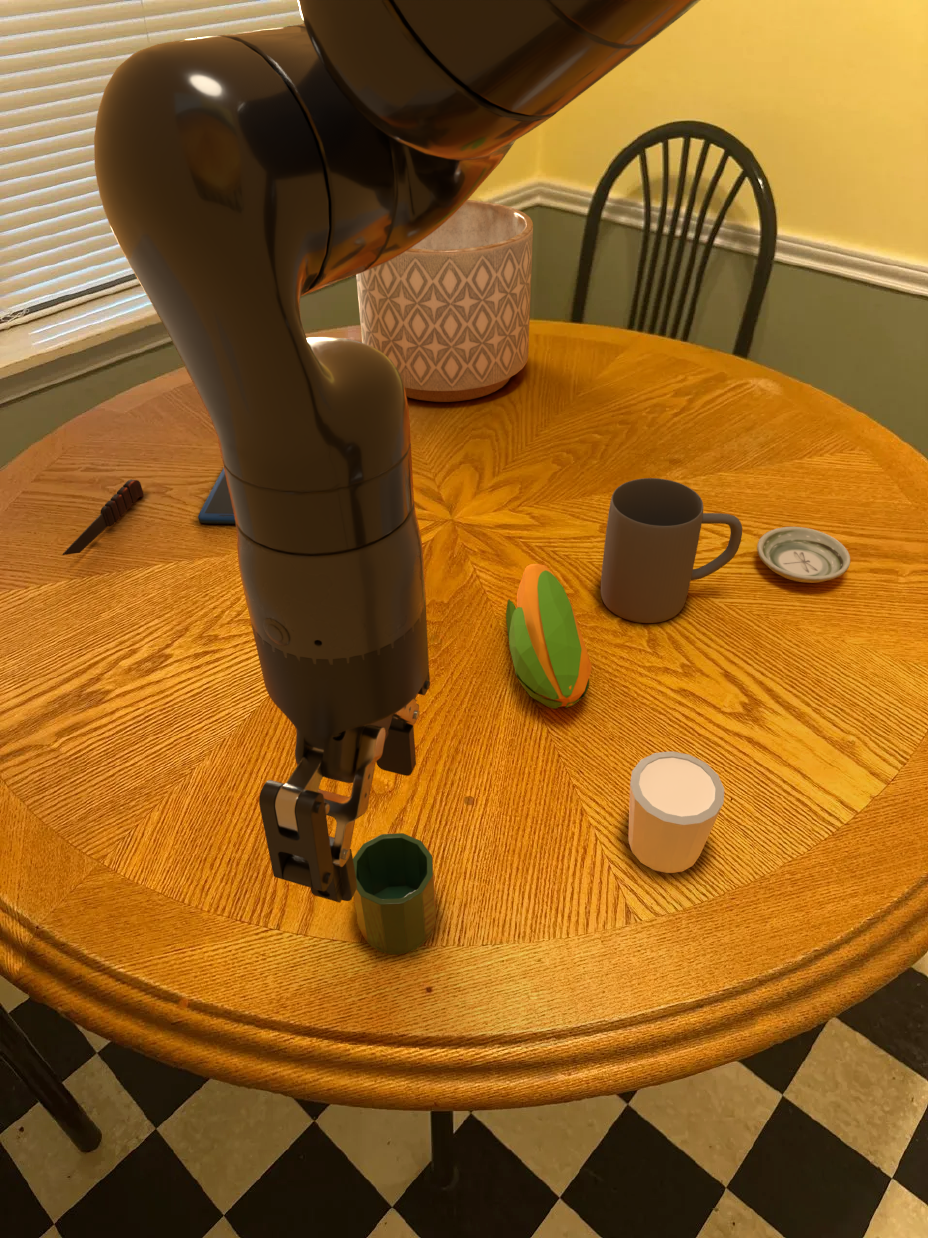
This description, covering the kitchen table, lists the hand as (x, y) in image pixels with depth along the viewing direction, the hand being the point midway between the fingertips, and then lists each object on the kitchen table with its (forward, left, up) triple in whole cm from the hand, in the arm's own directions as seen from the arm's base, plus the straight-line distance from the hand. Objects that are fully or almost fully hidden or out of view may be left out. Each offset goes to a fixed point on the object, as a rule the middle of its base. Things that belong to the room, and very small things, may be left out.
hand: (368, 825), depth 47 cm
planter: (+99, -7, -19) cm, 101 cm away
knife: (+58, +34, -19) cm, 70 cm away
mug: (+41, -28, -19) cm, 54 cm away
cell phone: (+65, +20, -19) cm, 71 cm away
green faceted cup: (+5, 0, -18) cm, 19 cm away
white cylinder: (+11, -21, -19) cm, 30 cm away
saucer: (+45, -44, -19) cm, 66 cm away
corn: (+33, -14, -19) cm, 41 cm away
